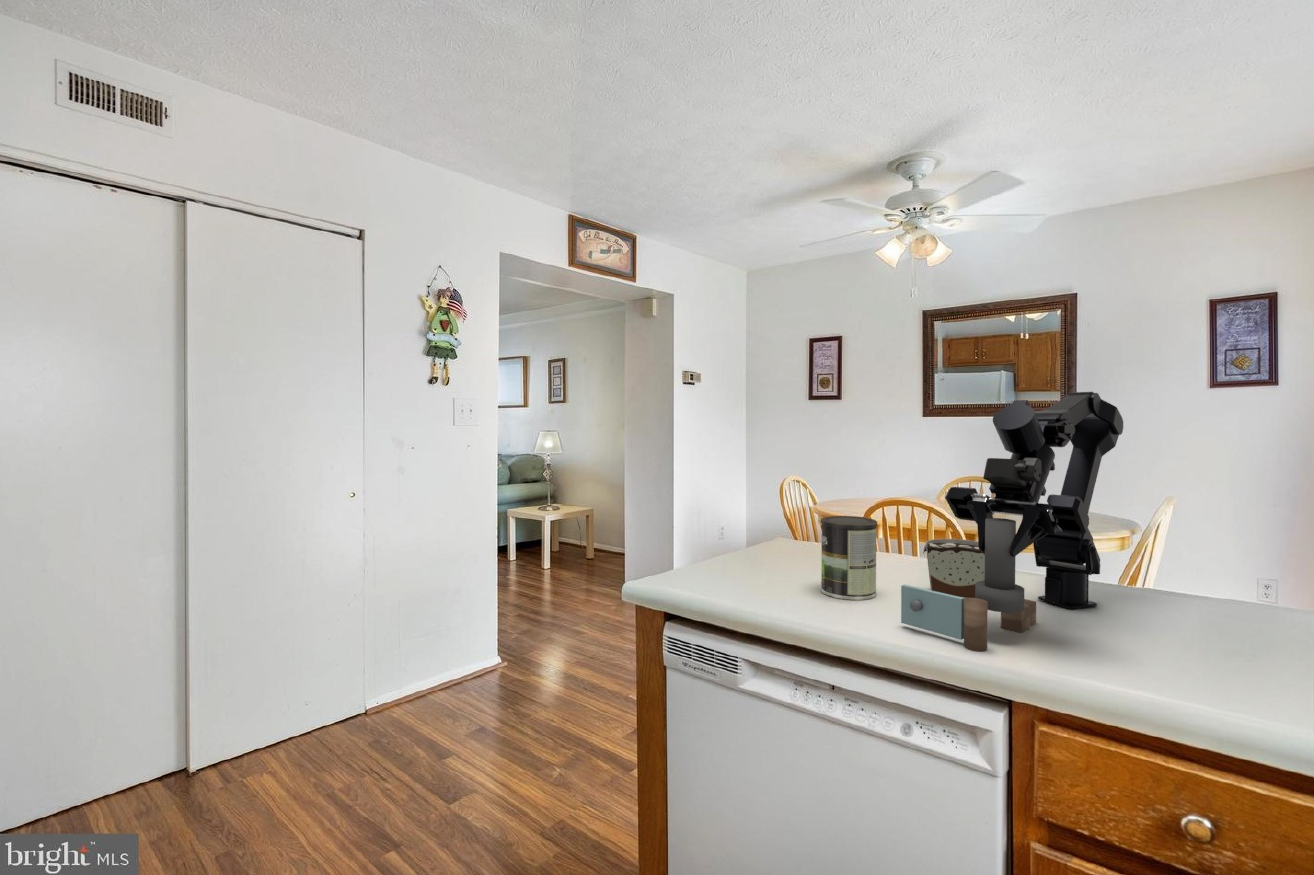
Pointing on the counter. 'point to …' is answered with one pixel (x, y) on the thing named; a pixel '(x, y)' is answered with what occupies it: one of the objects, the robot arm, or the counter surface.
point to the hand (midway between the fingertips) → (995, 552)
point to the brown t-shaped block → (978, 621)
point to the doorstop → (1000, 568)
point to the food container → (955, 566)
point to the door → (932, 611)
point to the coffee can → (849, 557)
